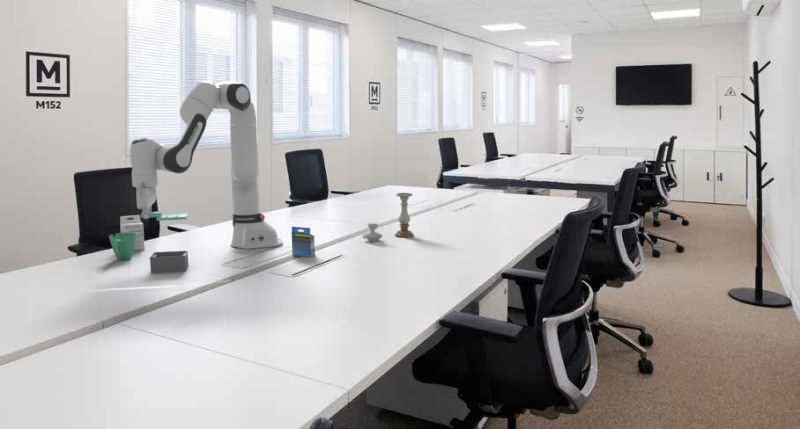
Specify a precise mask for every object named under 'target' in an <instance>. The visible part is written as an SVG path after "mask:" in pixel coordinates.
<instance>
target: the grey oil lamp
mask: <svg viewBox="0 0 800 429" xmlns="http://www.w3.org/2000/svg"><path fill="white" fill-rule="evenodd" d="M367 226H368V229H369V230H370V231H365V233H364V234H363V236H362V238H363V239H366V240H367V242H370V243H371V242H374V243H375V242H379V241H380V239H381V238H383V234H381V233H379V231H376V229H377V228H378V226H379V224H378V223H377V222H367Z"/></svg>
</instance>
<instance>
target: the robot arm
mask: <svg viewBox="0 0 800 429" xmlns="http://www.w3.org/2000/svg"><path fill="white" fill-rule="evenodd" d="M254 105H255V104H254V103H253V102H252V101H251V92H250V90H249V87H248V86H247V85H246V84H244V83H242V82H239V81H224V82H217V83H216V82H215V83H212V82H210V81H208V80H204V81H203V80H202V81H200V82H198V84H196V85H195V86H194V87H193V89H192V90H191V91H190V92H189V93H188V95H187V96H186V98H185V99H184V101H182V104H181V106H180V109H179V115H180V118H181V120H182V121H183V122H184V123H185V124H186V128H185V131H184V133H183V135H182V136H181V138H180V140H179V142H178V143H177V144H175V145H172V146H170V145H164V144H161V143H159V142H157V141H156V140H153V138H150V137H142V138H138V139H134V140H133V141H131V143H130V148H129V152H130V153H129V155H130V157H129V158H130V164H131V168H132V170H131V182H132V183H131V185H132V187H134V188H136V193H135V195H136V196H135V197H136V208H137V209H138V210H141V211H142V212H143V214H144V218H143V219H145V220H146V219H147V220H148V219H150V217H149V212H152V209H153V208H152V207H153V204H154V203H156V201H157V200H156V199H157V186H159V185H158V184H159V183H158V172H157V171H163V172H170V173H173V174H174V173H175V174H184V173H186V172H187V171H188V170H189V168H190V167H191V165H192V162H193V157H194V153H195V150H196V149H197V146H198V144H199V142H200V140H201V139H202V136H203V134H204V132H205V130H206V127H207V122H208V119H209V117H210V115H211V114H212V112H213V111H214V109H218V110H219V109H222V110H228V112H229V114H230V117H229V118H230V120H229V122H230V123H229V124H230V126H229V127H230V128H229V129H230V130H229V131H230V152H231V153H230V154H231V155H230V156H231V166H230V175H231V179H230V180H231V190H232V212H233V213H232V216H231V222H232V223H231V224H232V227H233V231H232V239H231V243H230V246H231V247H234V248H238V249H240V248H241V249H244V250H249V249H261V248H271V247H274V248H275V247H280V246H282V245H283V244H284V243H283V240H282V239H281V238H278V233H277V230H276V229H275V227H273V226H271V225H270V224H269V223H267V222H266V221H264V220H265V218H266V217H265V215H264V214H263V213H261V212H260V210H259V209H260V207H259V204H260V203H259V201H260V200H259V190H258V189H259V188H258V179H257V178H258V175H259V157H258V156H259V155H258V143H257V142H258V140H257V136H258V135H257V132H258V130H257V114H256V109H255V106H254ZM282 243H283V244H282Z"/></svg>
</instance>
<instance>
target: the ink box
mask: <svg viewBox="0 0 800 429" xmlns="http://www.w3.org/2000/svg"><path fill="white" fill-rule="evenodd" d="M130 218H131V219H130ZM119 220H120V226H119V227H120V233H135V234H136V240H135V246H134V250H133V252H135V251H136V252H137V250H138V251H145V250H146V249H145V232H144V230H145V229H144V223H143V222H142V221H141V214H136V215H135V214H133V215H123V216H122V215H121V216H120V217H119Z"/></svg>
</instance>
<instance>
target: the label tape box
mask: <svg viewBox="0 0 800 429" xmlns="http://www.w3.org/2000/svg"><path fill="white" fill-rule="evenodd" d="M315 245H316V244H315V235H313V234H311V227H303V226H301V227H300V226H291V250H292V251H291V252H292V256H293V257H305V258H306V257H308V258H309V257H310V258H312V257H314V256H315V255H316V246H315Z"/></svg>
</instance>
